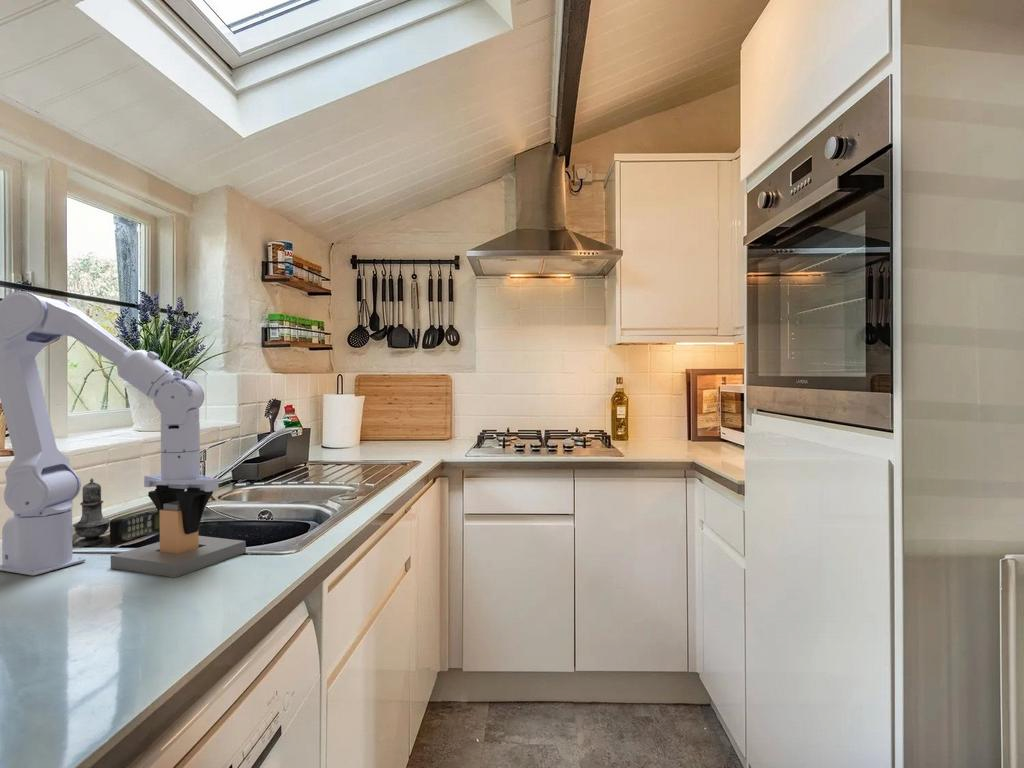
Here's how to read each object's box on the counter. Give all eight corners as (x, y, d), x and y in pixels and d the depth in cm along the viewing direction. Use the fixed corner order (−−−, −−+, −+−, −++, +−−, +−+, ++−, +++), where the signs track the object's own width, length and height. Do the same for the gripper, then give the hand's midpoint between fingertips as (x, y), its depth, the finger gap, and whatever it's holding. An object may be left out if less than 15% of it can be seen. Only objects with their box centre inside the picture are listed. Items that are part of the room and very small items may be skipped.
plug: (159, 552, 96) (159, 504, 96) (181, 545, 100) (180, 499, 100) (177, 554, 95) (177, 505, 95) (198, 548, 98) (198, 500, 98)
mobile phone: (117, 519, 108) (185, 501, 122) (105, 518, 108) (173, 500, 123) (118, 546, 108) (185, 525, 122) (106, 544, 109) (174, 524, 123)
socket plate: (110, 568, 93) (110, 555, 93) (186, 545, 107) (185, 534, 107) (175, 577, 89) (175, 564, 89) (245, 552, 102) (245, 540, 102)
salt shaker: (90, 546, 106) (90, 481, 106) (64, 545, 107) (63, 480, 107) (118, 538, 112) (118, 476, 112) (93, 536, 113) (92, 475, 113)
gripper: (126, 452, 96) (127, 533, 96) (192, 455, 91) (193, 541, 91) (165, 447, 103) (165, 524, 103) (228, 450, 98) (228, 530, 98)
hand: (181, 531), depth 98 cm, fingers closed on plug, 4 cm apart
